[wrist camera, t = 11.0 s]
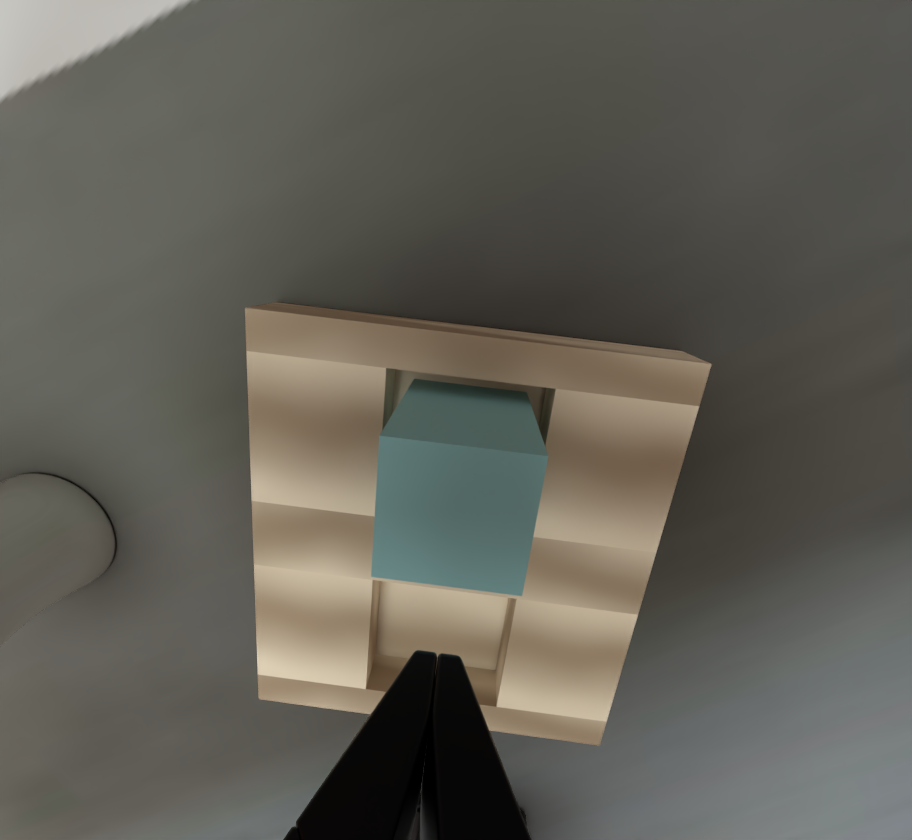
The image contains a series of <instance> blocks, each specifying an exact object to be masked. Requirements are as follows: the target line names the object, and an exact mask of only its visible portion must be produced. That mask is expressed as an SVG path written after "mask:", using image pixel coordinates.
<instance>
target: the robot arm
mask: <svg viewBox="0 0 912 840" xmlns="http://www.w3.org/2000/svg"><path fill="white" fill-rule="evenodd" d="M436 664H437V665H436ZM435 672H436V673H435ZM427 738H428V739H427ZM426 746H427V747H426ZM425 754H426V755H425ZM424 762H425V763H424ZM423 770H424V772H423ZM422 777H423V780H422ZM421 784H422V791H421ZM420 791H421V797H420ZM283 840H531V837H530V835H529V832H528V829H527V827H526V815H525V813H524V812H522V811H520V809H519V806H518V804H517V801H516V798H515V796H514V793H513V791H512V788H511V785H510V783H509V780H508V778H507V775H506V772H505V770H504V767H503V765H502V762H501V759H500V757H499V754H498V752H497V749H496V746H495V744H494V741H493V739H492V736H491V733H490V731H489V728H488V726H487V723H486V720H485V718H484V715H483V713H482V710H481V707H480V705H479V702H478V700H477V697H476V694H475V692H474V689H473V687H472V684H471V681H470V679H469V676H468V674H467V671H466V668H465V666H464V663H463V661H462V659H461V657H460V656H458V655H453V654H445V653H440V654H439V655H438V657H437V654H436V653H435V652H430V651H423V650H416V651H415V652H414V653H413V654H412V655H411V657H410V658H409V660H408V661H407V662H406V664H405V665H404V667H403V668H402V670H401V671H400V673H399V674H398V675H397V677H396V678H395V680H394V681H393V683H392V684H391V686H390V687H389V688H388V690H387V691H386V693H385V694H384V696H383V697H382V699H381V700H380V701H379V703H378V704H377V706H376V707H375V709H374V710H373V712H372V713H371V714H370V716H369V717H368V719H367V720H366V722H365V723H364V724H363V726H362V727H361V729H360V730H359V732H358V733H357V735H356V736H355V737H354V739H353V740H352V742H351V743H350V745H349V746H348V748H347V749H346V750H345V752H344V753H343V755H342V756H341V758H340V759H339V761H338V762H337V763H336V765H335V766H334V768H333V769H332V771H331V772H330V774H329V775H328V776H327V778H326V779H325V781H324V782H323V784H322V785H321V787H320V788H319V789H318V791H317V792H316V794H315V795H314V797H313V798H312V799H311V801H310V802H309V804H308V805H307V807H306V808H305V810H304V811H303V812H302V814H301V815H300V817H299V818H298V820H297V821H296V827H295V826H294V827H292V828H291V829H290V831H289V832H288V834H287V835H286V837H285V838H284V839H283Z"/></svg>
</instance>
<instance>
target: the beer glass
mask: <svg viewBox="0 0 912 840" xmlns="http://www.w3.org/2000/svg"><path fill="white" fill-rule="evenodd" d="M114 553H115V537H114V532H113V529H112V526H111V523H110V521H109V519H108V517H107V516H106V514H105V512H104V511H103V510H102V508H101V507H100V506H99V505H98V503H97V502H96V501H95V500H94V499H93V498H92V497H91V496H89V495H88V494H87V493H86V492H85V491H83V490H82V489H80V488H79V487H77V486H76V485H74V484H72V483H70V482H68V481H66V480H63V479H61V478H58V477H55V476H51V475H47V474H40V473H28V474H22V475H18V476H14V477H11V478H9V479H7V480H5V481H3V482H1V483H0V647H1V646H2V645H3V644H4V643H5V642H6V641H7V640H8V639H9V638H10V637H11V636H12V635H13V634H14V633H15V632H17V631H18V630H19V629H20V628H21V627H22V626H24V625H25V624H26V623H27V622H28V621H29V620H30V619H32V618H33V617H35V616H36V615H37V614H39V613H40V612H41V611H43V610H44V609H46V608H47V607H49V606H50V605H52V604H53V603H55V602H57V601H58V600H60V599H62V598H64V597H65V596H67V595H69V594H71V593H73V592H74V591H76V590H78V589H80V588H82V587H83V586H85V585H87V584H89V583H90V582H92V581H94V580H95V579H97V578H98V577H99V576H101V575H102V574H103V573H104V572H105V571H106V569H107V568H108V567H109V565H110V564H111V562H112V560H113V557H114Z"/></svg>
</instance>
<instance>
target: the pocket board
mask: <svg viewBox="0 0 912 840" xmlns="http://www.w3.org/2000/svg"><path fill="white" fill-rule="evenodd" d="M245 323H246V352H247V380H248V409H249V437H250V465H251V494H252V522H253V551H254V579H255V608H256V636H257V665H258V693H259V699H262V700H270V701H277V702H284V703H292V704H299V705H306V706H314V707H321V708H328V709H336V710H343V711H350V712H358V713H365V714H371V713H372V712H373V710H374V709H375V707H376V706H377V704H378V703H379V701H380V700H381V699H382V697H383V696H384V694H385V693H386V691H387V690H388V688H389V687H390V686H391V684H392V683H393V681H394V680H395V678H396V677H397V675H398V674H399V673H400V671H401V670H402V668H403V667H404V665H405V664H406V662H407V661H408V660H409V658H410V657H411V655H412V654H413V653H414V652H415V651H416V650H423V651H430V652H435V653H436V654H437V657H438V655H439V654H440V653H445V654H453V655H458V656H460V657H461V659H462V661H463V663H464V666H465V668H466V671H467V674H468V676H469V679H470V681H471V684H472V687H473V689H474V692H475V694H476V697H477V700H478V702H479V705H480V707H481V710H482V713H483V715H484V718H485V720H486V723H487V726H488V728H489V730H490V731H497V732H505V733H512V734H519V735H527V736H534V737H541V738H549V739H556V740H563V741H571V742H578V743H585V744H593V745H600V742H601V739H602V735H603V732H604V729H605V725H606V722H607V718H608V715H609V712H610V708H611V705H612V701H613V698H614V695H615V691H616V688H617V684H618V681H619V678H620V674H621V671H622V667H623V664H624V661H625V657H626V654H627V650H628V647H629V644H630V640H631V637H632V633H633V630H634V627H635V623H636V620H637V616H638V613H639V610H640V606H641V603H642V599H643V596H644V593H645V589H646V586H647V582H648V579H649V576H650V572H651V569H652V565H653V562H654V559H655V555H656V552H657V548H658V545H659V542H660V538H661V535H662V531H663V528H664V525H665V521H666V518H667V514H668V511H669V508H670V504H671V501H672V497H673V494H674V491H675V487H676V484H677V480H678V477H679V474H680V470H681V467H682V463H683V460H684V457H685V453H686V450H687V446H688V443H689V440H690V436H691V433H692V429H693V426H694V423H695V419H696V416H697V412H698V409H699V406H700V402H701V399H702V395H703V392H704V389H705V385H706V382H707V378H708V375H709V372H710V368H711V365H712V364H710V363H708V362H706V361H704V360H701V359H699V358H697V357H694V356H692V355H690V354H688V353H685V352H683V351H678V350H670V349H661V348H653V347H645V346H636V345H628V344H620V343H611V342H603V341H595V340H586V339H578V338H570V337H561V336H553V335H545V334H536V333H528V332H520V331H511V330H503V329H495V328H486V327H478V326H470V325H461V324H453V323H445V322H436V321H428V320H420V319H411V318H403V317H395V316H386V315H378V314H370V313H361V312H353V311H345V310H336V309H328V308H320V307H311V306H303V305H295V304H287V303H278V302H274V303H269V304H263V305H258V306H252V307H247V308H245ZM414 379H422V380H430V381H438V382H447V383H455V384H463V385H472V386H480V387H488V388H497V389H505V390H514V391H522V392H527V394H528V397H529V400H530V403H531V406H532V409H533V412H534V415H535V418H536V421H537V424H538V427H539V430H540V433H541V436H542V439H543V442H544V445H545V448H546V451H547V454H548V461H547V466H546V472H545V477H544V482H543V488H542V493H541V498H540V504H539V509H538V514H537V520H536V525H535V530H534V536H533V541H532V546H531V552H530V557H529V562H528V568H527V573H526V578H525V584H524V589H523V594H522V596H517V595H509V594H501V593H493V592H486V591H478V590H470V589H462V588H454V587H447V586H439V585H431V584H423V583H415V582H408V581H400V580H392V579H384V578H376V577H371V569H372V552H373V535H374V518H375V501H376V484H377V467H378V450H379V435H380V434H381V432H382V430H383V429H384V427H385V426H386V424H387V422H388V421H389V419H390V417H391V416H392V414H393V412H394V411H395V409H396V408H397V406H398V404H399V403H400V401H401V399H402V398H403V396H404V394H405V393H406V391H407V390H408V388H409V386H410V385H411V383H412V381H413V380H414ZM436 665H437V664H436ZM435 673H436V672H435Z"/></svg>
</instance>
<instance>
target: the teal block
mask: <svg viewBox="0 0 912 840" xmlns="http://www.w3.org/2000/svg"><path fill="white" fill-rule="evenodd" d="M547 461H548V454H547V451H546V448H545V445H544V442H543V439H542V436H541V433H540V430H539V427H538V424H537V421H536V418H535V415H534V412H533V409H532V406H531V403H530V400H529V397H528V394H527V392H522V391H514V390H505V389H497V388H488V387H480V386H472V385H463V384H455V383H447V382H438V381H430V380H422V379H414V380H413V381H412V383H411V385H410V386H409V388H408V390H407V391H406V393H405V394H404V396H403V398H402V399H401V401H400V403H399V404H398V406H397V408H396V409H395V411H394V412H393V414H392V416H391V417H390V419H389V421H388V422H387V424H386V426H385V427H384V429H383V430H382V432H381V434H380V435H379V450H378V467H377V484H376V501H375V518H374V535H373V552H372V569H371V577H376V578H384V579H392V580H400V581H408V582H415V583H423V584H431V585H439V586H447V587H454V588H462V589H470V590H478V591H486V592H493V593H501V594H509V595H517V596H522V594H523V589H524V584H525V578H526V573H527V568H528V562H529V557H530V552H531V546H532V541H533V536H534V530H535V525H536V520H537V514H538V509H539V504H540V498H541V493H542V488H543V482H544V477H545V472H546V466H547Z"/></svg>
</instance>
